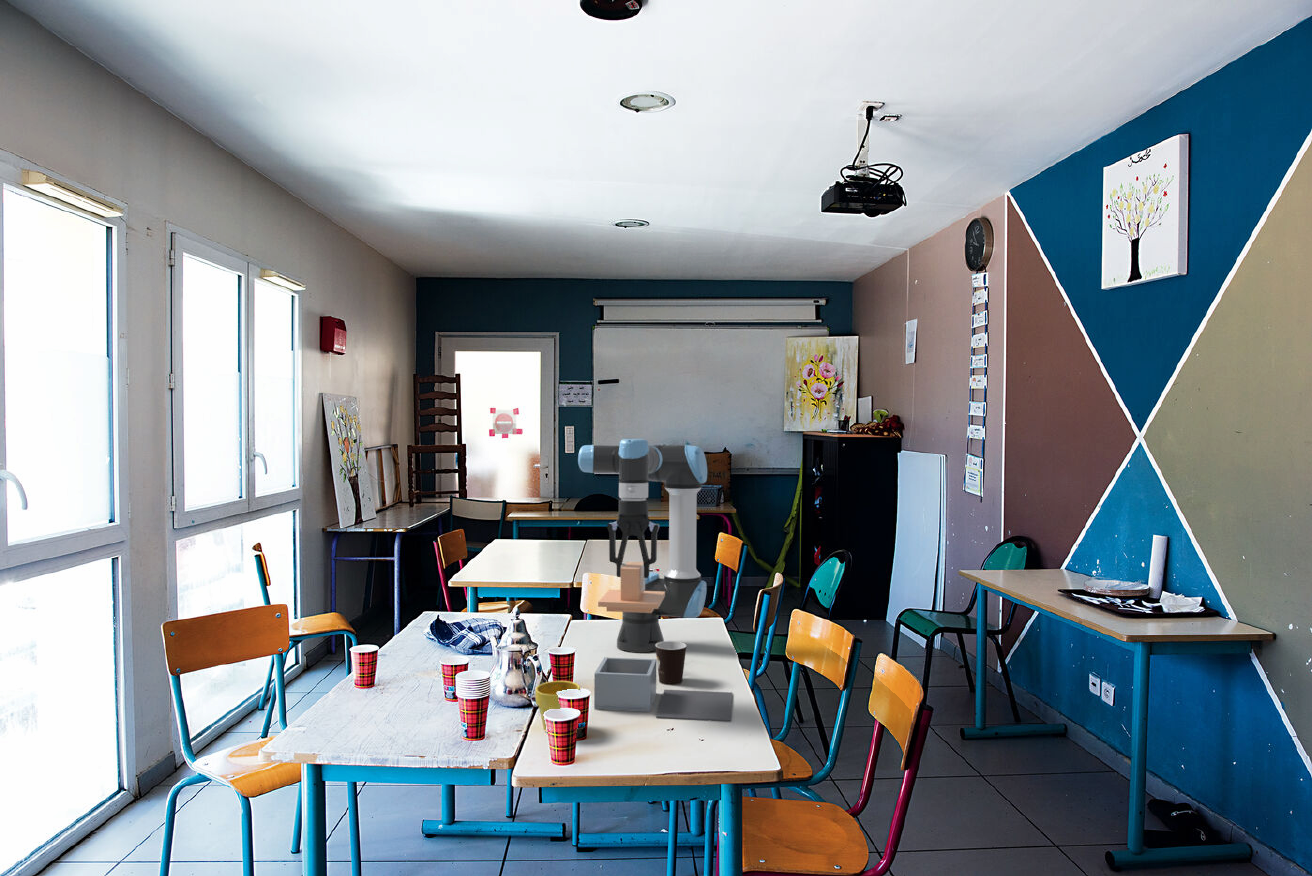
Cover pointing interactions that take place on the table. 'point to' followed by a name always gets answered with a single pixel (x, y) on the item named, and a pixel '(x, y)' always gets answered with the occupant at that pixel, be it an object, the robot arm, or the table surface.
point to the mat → (695, 705)
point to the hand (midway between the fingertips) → (632, 589)
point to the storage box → (625, 684)
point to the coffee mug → (670, 661)
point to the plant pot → (551, 695)
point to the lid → (631, 593)
